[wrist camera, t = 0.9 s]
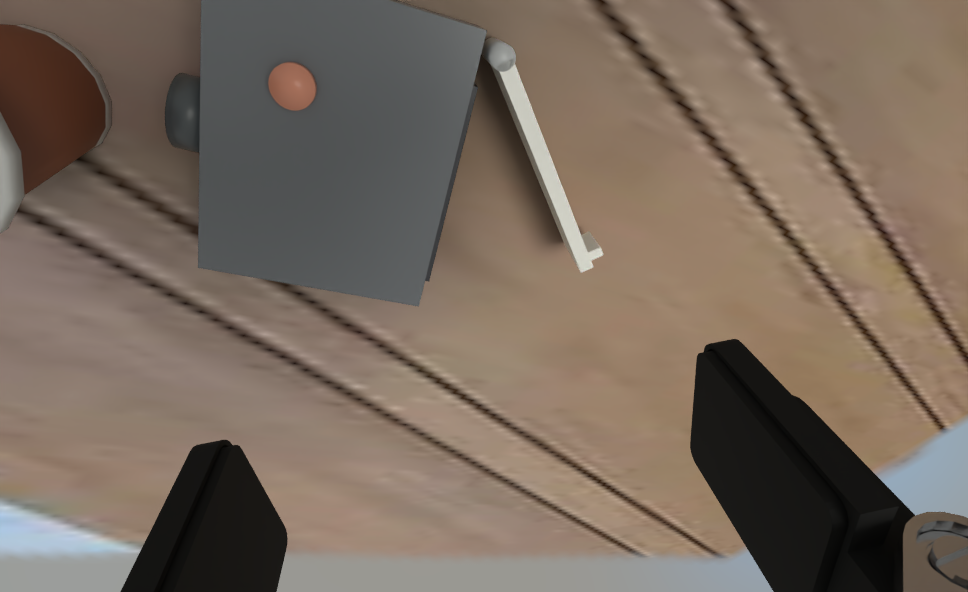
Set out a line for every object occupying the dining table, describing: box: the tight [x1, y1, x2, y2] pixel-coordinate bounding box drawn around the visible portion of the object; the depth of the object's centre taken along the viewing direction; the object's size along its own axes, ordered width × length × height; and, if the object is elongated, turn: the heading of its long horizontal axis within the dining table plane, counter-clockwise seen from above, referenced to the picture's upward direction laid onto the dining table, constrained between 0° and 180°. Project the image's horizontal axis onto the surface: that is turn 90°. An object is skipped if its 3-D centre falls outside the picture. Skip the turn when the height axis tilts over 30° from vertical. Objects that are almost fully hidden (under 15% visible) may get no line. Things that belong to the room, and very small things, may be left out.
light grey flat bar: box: [482, 38, 603, 273], centre depth 29 cm, size 2×13×4 cm, turn 25°
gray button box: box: [165, 0, 487, 306], centre depth 27 cm, size 14×15×5 cm
